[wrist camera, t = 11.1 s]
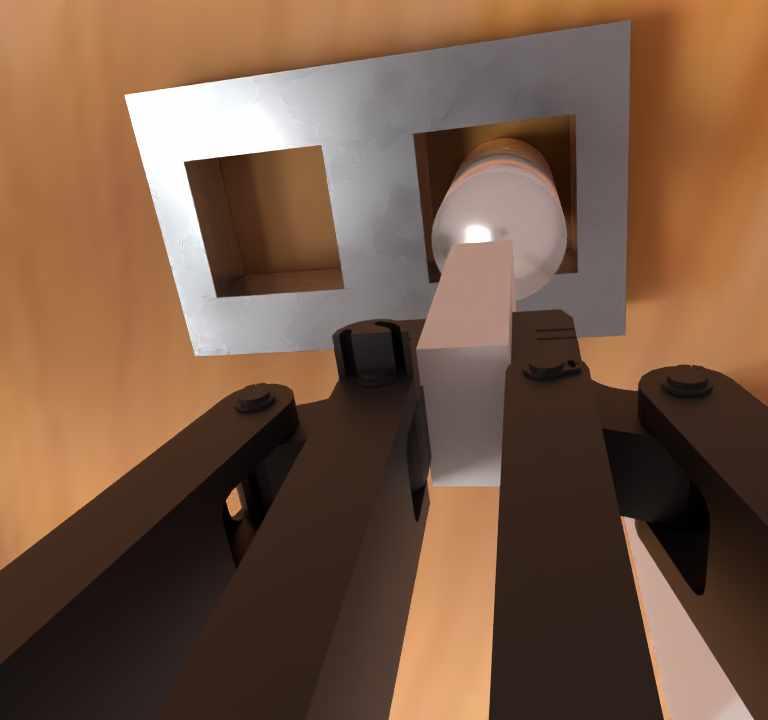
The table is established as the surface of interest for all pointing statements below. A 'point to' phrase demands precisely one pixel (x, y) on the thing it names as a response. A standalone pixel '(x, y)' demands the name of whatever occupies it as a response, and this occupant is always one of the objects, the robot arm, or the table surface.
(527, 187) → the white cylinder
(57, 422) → the table surface
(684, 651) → the milk carton
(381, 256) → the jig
